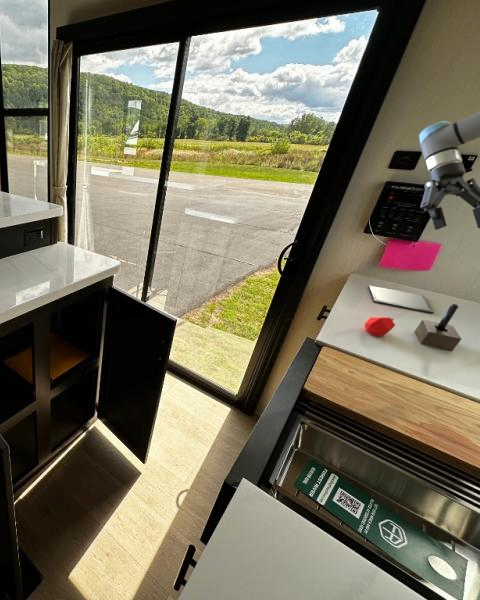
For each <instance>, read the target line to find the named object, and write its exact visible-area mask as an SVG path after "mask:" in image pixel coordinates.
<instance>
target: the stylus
mask: <svg viewBox="0 0 480 600" xmlns="http://www.w3.org/2000/svg"><path fill="white" fill-rule="evenodd" d="M458 309H459V305H458V304H456V303H452V304H450V306H449V307H448V309H447V310H446V312H445V314H444V315H443V317H442V318H441V320H440V322H438V323H439V325H438V326H437V328H436V329H437V330H439V331H443V330H444V329H445V327H446V326H447V325H449V323H450V322H451V319H452V318H453V316H454V315H455V313H456V312H457V310H458Z"/></svg>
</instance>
